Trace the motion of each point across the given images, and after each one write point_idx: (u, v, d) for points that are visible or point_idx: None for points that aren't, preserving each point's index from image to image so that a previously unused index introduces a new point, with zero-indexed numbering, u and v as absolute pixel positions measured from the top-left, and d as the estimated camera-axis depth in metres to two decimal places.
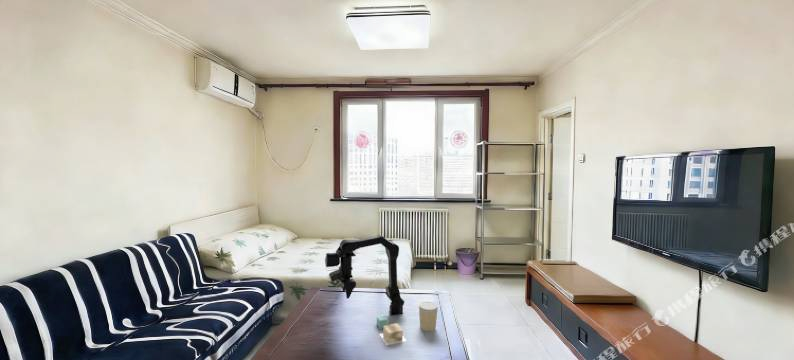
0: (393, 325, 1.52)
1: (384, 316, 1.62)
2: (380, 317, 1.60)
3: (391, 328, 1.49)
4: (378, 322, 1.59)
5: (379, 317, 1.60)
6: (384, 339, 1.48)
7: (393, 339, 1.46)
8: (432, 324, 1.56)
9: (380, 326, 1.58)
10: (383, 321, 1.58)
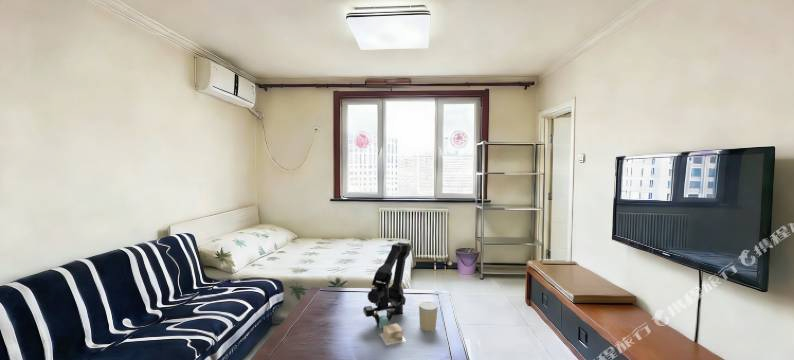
0: (393, 325, 1.52)
1: (384, 316, 1.62)
2: (380, 317, 1.60)
3: (391, 328, 1.49)
4: None
5: (379, 317, 1.60)
6: (384, 339, 1.48)
7: (393, 339, 1.46)
8: (432, 324, 1.56)
9: (380, 326, 1.58)
10: (383, 321, 1.58)
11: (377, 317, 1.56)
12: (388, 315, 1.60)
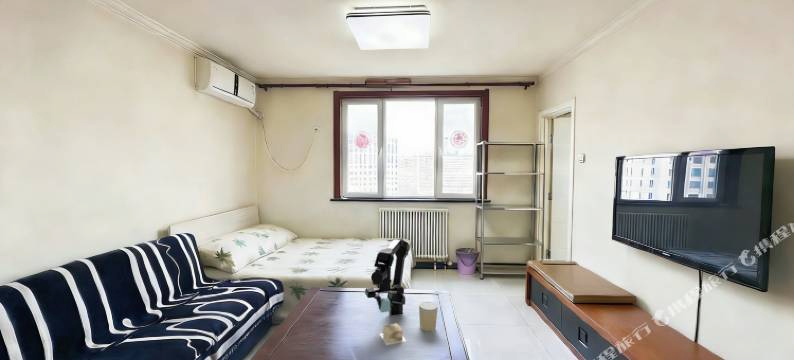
0: (393, 325, 1.52)
1: (386, 298, 1.59)
2: (382, 299, 1.58)
3: (391, 328, 1.49)
4: None
5: (381, 299, 1.58)
6: (384, 339, 1.48)
7: (393, 339, 1.46)
8: (432, 324, 1.56)
9: (382, 308, 1.55)
10: (385, 303, 1.55)
11: (379, 299, 1.53)
12: (390, 297, 1.57)
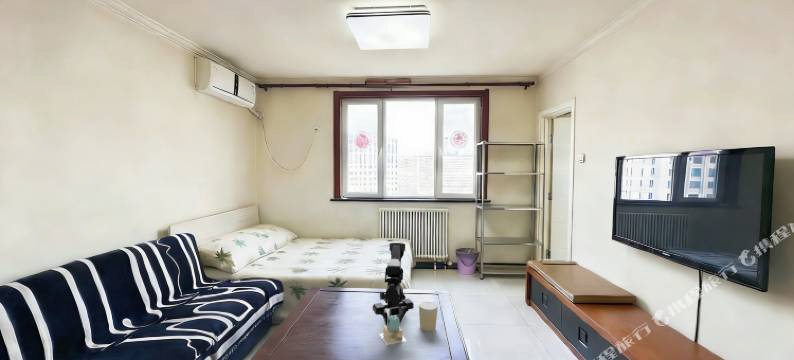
0: None
1: (395, 316, 1.51)
2: (390, 317, 1.49)
3: None
4: (388, 322, 1.48)
5: (389, 317, 1.49)
6: (384, 339, 1.48)
7: (393, 339, 1.46)
8: (432, 324, 1.56)
9: (391, 327, 1.47)
10: (394, 321, 1.47)
11: (386, 315, 1.45)
12: (401, 313, 1.49)
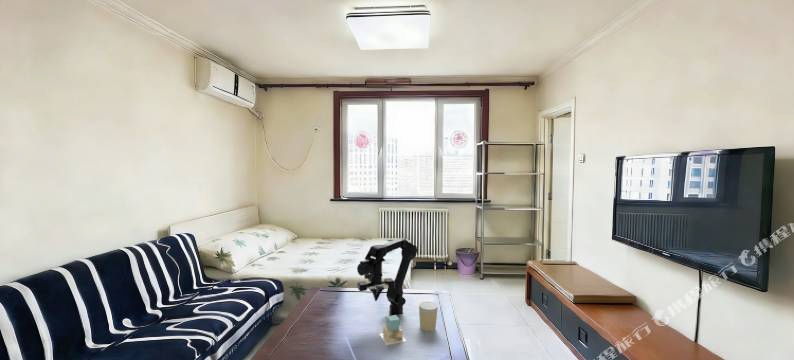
0: None
1: (395, 316, 1.51)
2: (390, 317, 1.49)
3: None
4: (388, 322, 1.48)
5: (389, 317, 1.49)
6: (384, 339, 1.48)
7: (393, 339, 1.46)
8: (432, 324, 1.56)
9: (391, 327, 1.47)
10: (394, 321, 1.47)
11: (375, 291, 1.60)
12: (377, 291, 1.62)
